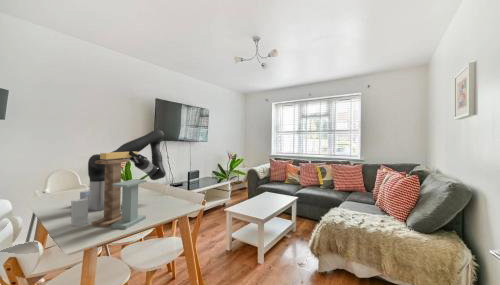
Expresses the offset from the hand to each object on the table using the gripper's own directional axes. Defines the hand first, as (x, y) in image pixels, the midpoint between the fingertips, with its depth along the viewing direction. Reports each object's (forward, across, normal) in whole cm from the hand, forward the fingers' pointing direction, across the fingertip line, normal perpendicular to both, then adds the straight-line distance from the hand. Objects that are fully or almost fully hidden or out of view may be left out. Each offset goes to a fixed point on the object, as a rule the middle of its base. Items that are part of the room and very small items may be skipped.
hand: (126, 152), depth 116 cm
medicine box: (-28, -38, +25) cm, 54 cm away
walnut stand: (-10, 0, +35) cm, 37 cm away
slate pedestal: (-10, +11, +35) cm, 38 cm away
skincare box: (-4, -12, +39) cm, 41 cm away
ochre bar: (+2, 0, +5) cm, 5 cm away
